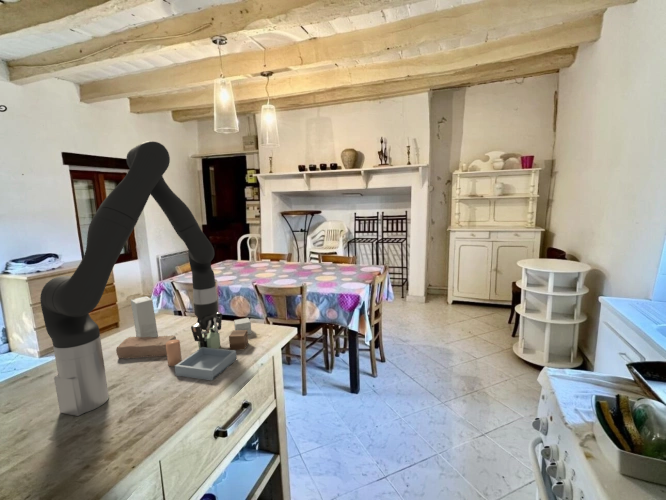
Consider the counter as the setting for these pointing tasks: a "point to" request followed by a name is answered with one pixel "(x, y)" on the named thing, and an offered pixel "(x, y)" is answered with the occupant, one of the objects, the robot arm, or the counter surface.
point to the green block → (212, 340)
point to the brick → (143, 347)
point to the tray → (205, 363)
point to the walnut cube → (238, 339)
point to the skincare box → (144, 317)
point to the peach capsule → (173, 352)
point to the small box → (243, 325)
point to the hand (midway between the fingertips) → (209, 347)
